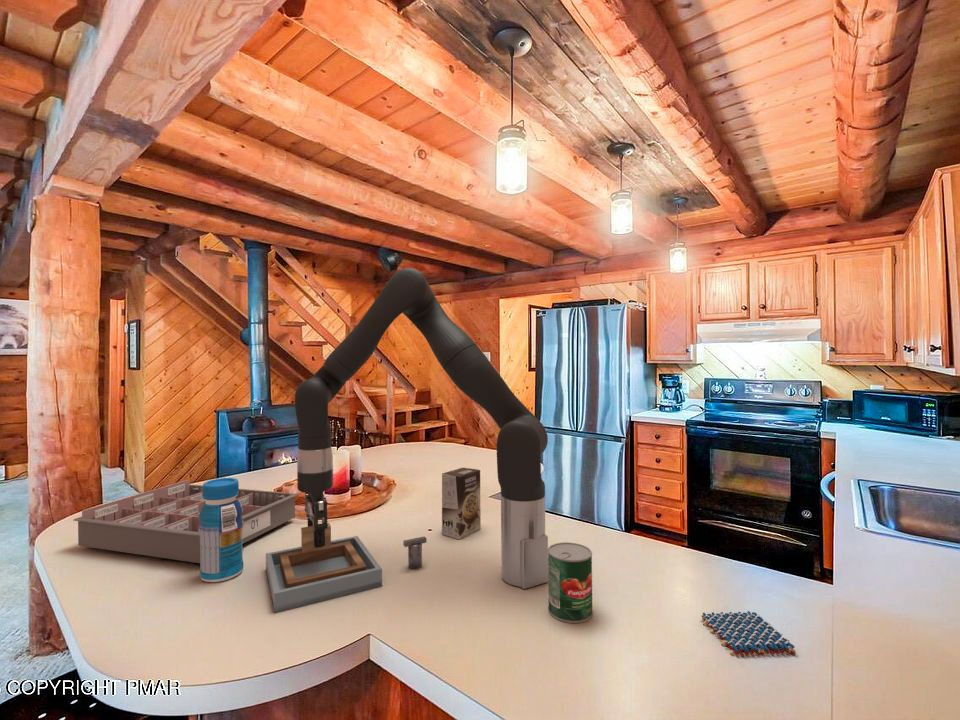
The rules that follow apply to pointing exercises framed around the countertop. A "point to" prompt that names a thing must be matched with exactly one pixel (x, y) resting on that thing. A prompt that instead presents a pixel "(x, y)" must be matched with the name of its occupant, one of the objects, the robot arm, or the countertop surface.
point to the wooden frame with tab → (318, 558)
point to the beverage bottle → (220, 531)
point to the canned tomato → (570, 582)
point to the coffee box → (461, 502)
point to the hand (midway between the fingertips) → (316, 539)
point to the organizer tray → (174, 520)
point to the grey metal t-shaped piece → (415, 552)
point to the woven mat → (747, 634)
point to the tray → (323, 588)
